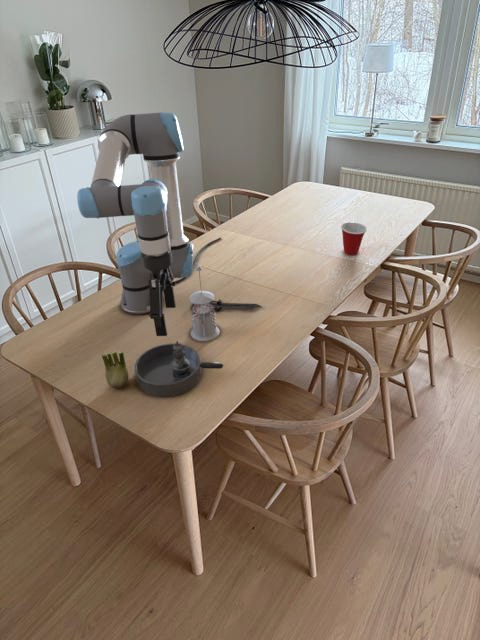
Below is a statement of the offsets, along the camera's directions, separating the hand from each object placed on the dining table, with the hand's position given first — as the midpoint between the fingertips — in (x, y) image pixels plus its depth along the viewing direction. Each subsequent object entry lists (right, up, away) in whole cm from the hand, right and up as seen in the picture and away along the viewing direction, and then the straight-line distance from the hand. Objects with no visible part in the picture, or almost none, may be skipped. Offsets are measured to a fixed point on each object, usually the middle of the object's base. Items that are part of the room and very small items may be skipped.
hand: (166, 320), depth 129 cm
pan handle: (+12, -14, +9) cm, 20 cm away
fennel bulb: (-15, -19, +9) cm, 26 cm away
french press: (+8, -5, +28) cm, 30 cm away
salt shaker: (+3, -16, +11) cm, 19 cm away
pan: (-1, -16, +11) cm, 20 cm away
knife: (+16, +5, +42) cm, 45 cm away
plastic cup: (+68, +29, +74) cm, 105 cm away
